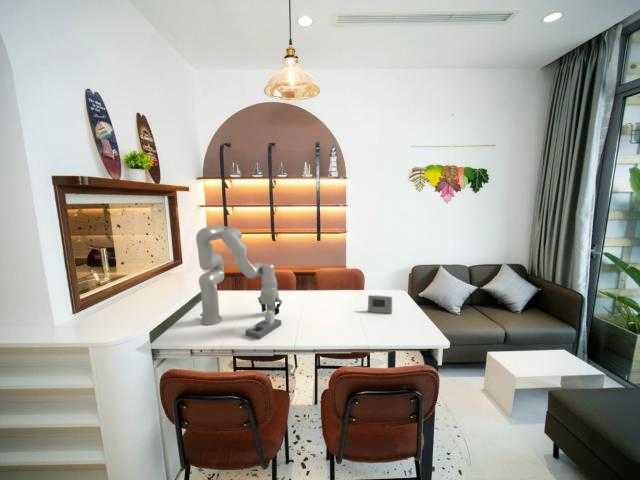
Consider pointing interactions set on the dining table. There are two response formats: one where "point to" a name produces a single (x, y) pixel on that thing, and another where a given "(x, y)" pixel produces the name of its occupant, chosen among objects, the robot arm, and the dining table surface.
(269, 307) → the water bottle
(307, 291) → the dining table surface
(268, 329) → the panel
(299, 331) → the dining table surface
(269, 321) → the plug
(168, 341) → the dining table surface
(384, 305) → the digital clock
